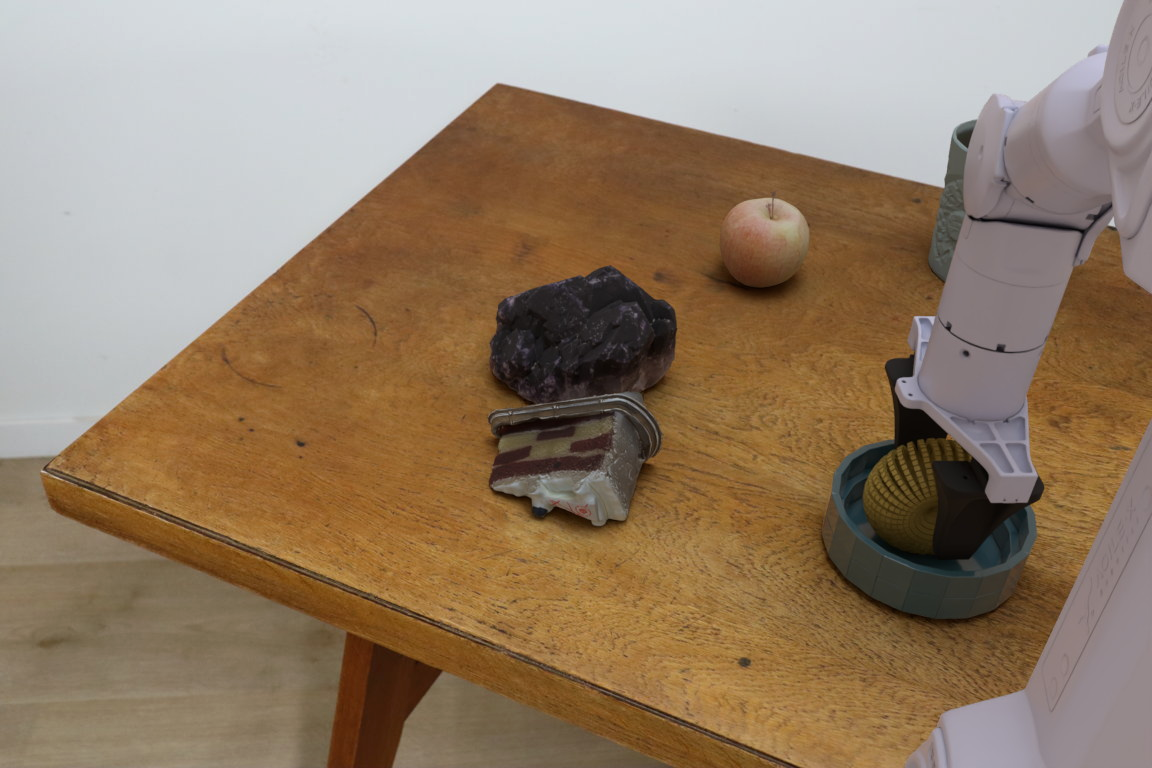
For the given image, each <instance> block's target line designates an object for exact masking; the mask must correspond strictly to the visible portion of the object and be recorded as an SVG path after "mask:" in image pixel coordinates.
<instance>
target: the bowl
mask: <svg viewBox="0 0 1152 768" xmlns="http://www.w3.org/2000/svg"><path fill="white" fill-rule="evenodd" d="M893 450H894V438H893V439H891V438H890V439H884V440H881V441H877V442H873V443H869V444H865V445H863V446H861V447H859V448H858V449H856V450H854V451H853V452H851V453H849V454H848V455H846V456H845V457H843V459H842V460H841V462H840V463H839V465H838V467H837V468H836V469H835V471H834V472H833V475H832V478H831V482H830V487H829V491H828V493H827V494H828V495H827V498H826V503H825V507H824V511H823V516H822V524H821V537H822V540H823V543H824V546H825V549H826V552H827V555H828V558H830V560H831V561H832V563H833V564H834V565H835V567H836V568H837V570H839V572H840V573H841V574H842V576H843V577H844V578H846V579H847V581H849V582H850V583H851V584H853V585H854V586H856V587H857V588H858V589H859V590H860V591H862V592H863V593H864V594H866V595H867V596H868V597H870V598H871V599H874V600H876V601H878V602H881V603H883V604H884V605H887V606H889V607H891V608H893V609H896V610H897V611H900V612H903V613H908V614H912V615H916V616H921V617H925V618H930V619H936V620H947V619H951V620H953V619H955V620H956V619H969V618H973V617H976V616H980V615H982V614H985V613H989V612H992V611H994V610H995V609H997V608H998V607H999V606H1001V605H1002V604H1003V603H1004V602H1006V601H1007V600H1008V599H1010V597H1012V596H1013V595H1014V593H1015V590H1016V588H1017V585H1018V583H1019V581H1020V578H1021V576H1022V574H1023V571H1024V569H1025V567H1026V564H1027V562H1028V560H1029V557H1030V555H1031V552H1032V549H1033V548H1034V545H1035V542H1036V540H1037V537H1038V529H1037V527H1038V526H1037V518H1036V512H1035V511H1034V509H1033V507H1032V506H1031V505H1032V504H1031V505H1029V506H1027V507H1025V508H1023V509H1021V510H1020V511H1018V512H1017V513H1015V514H1014V515H1012V516H1011V517H1009V518H1008V519H1007V520H1005V521H1004V522H1003V523H1002V524H1000V525H999V526H998V527H997V528H996V529H995V530H994V531H993V532H992V533H991V534H990V536H989V537H988V538H987V539H986V540H985V541H984V543H983V544H982V545H981V546H980V547H979V549H978V550H977V551H976V552H975V553H974V555H973V556H972V557H971V558H970V559H969V560H938V559H936V556H935V555H929V554H926V555H922V554H918V553H916V554H915V553H909V552H908V551H902V550H901V549H898V548H895V547H894V546H892V545H890V544H888V543H887V542H886V541H884V540H883V539H882V538H881V537H879V535H878V534H877V533H875V531H874V530H873V528H872V527H871V525H870V523H869V522H868V519H867V517H866V515H865V514H866V513H865V511H864V508H863V493H864V487H865V484H866V483H865V482H866V481H867V479H868V476H869V474H870V472H871V471H872V469H873V467H875V465H876V464H877V463H878V462H879V461H880V459H882V458H883V457H884V456H885V455H888V454H889V452H890V451H893Z"/></svg>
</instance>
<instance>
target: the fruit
mask: <svg viewBox="0 0 1152 768" xmlns="http://www.w3.org/2000/svg"><path fill="white" fill-rule="evenodd" d="M770 193H771V197H763V198H753V199H747V200H744V201H742V202H739V203H738V204H736V205H735V206H734V207H733V208H732V209H730V210H729V212H728V213H727V215H726V216H725V218H724V220H723V222H722V223H721V227H720V232H719V251H720V256H721V259H722V260H723V261H722V262H723V264H724V266H725V267H726V269H727V271H728V272H729V274H730V275H731V277H733V278H734V279H735V280H736V282H739V283H740V284H742V285H744V286H747V287H751V288H769V287H773V286H777V285H780V284H783V283H784V282H786V281H788V280H789V279H790V278H791V277H793V276H794V275H795V274H796V272H798V270H799V269H800V268H801V266H802V264H803V263H804V261H805V259H806V257H807V254H808V251H809V246H810V239H811V237H810V235H811V234H810V228H809V225H808V222H807V220H806V218H805V216H804V215H803V213H802V212H801V211H800V210H799V209H798V208H797V207H796V206H794V205H792V204H791V203H789V202H787V201H785V200H783V199H780V198H775V197H776V193H777V191H776V190H772V191H770Z"/></svg>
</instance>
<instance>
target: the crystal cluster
mask: <svg viewBox="0 0 1152 768" xmlns="http://www.w3.org/2000/svg"><path fill="white" fill-rule="evenodd" d="M676 314H677V313H676V310H675V308H674V307H673V306H672V305H671V304H670V303H669V302H668V301H667V300H665V299H656V298H654V297H653V296H651V294H649V293H648V292H647V291H646V290H645V289H643V288H642V287H641V286H639V285H638V284H637V283H635V282H634V281H633V280H632V279H630V278H629V277H628V276H626V275H625V274H624V273H622V271H620V270H619V269H617V268H616V267H614V266H612V265H611V264H609V265H605V266H603V267H599V268H596V269H595V270H592V271H591V272H590V273H589V274H587V275H586V276H583V275H581V274H579V275H576V276H572V277H569V278H565V279H562V280H559V281H555V282H551V283H547V284H543V285H540V286H537V287H534V288H531V289H527V290H525V291H521V292H520V293H517V294H515V295H510V296H507V297H505V298H504V299H502V301H500V302H499V303H498V304H497V311H496V316H495V322H496V329H495V333H494V334H493V336H492V337H491V339H490V342H489V348H490V356H489V369H490V370H491V371H492V373H493V375H494V376H495V377H496V379H498V380H500V381H501V382H502V383H503V384H505V385H507V387H508V388H510V389H511V390H513V391H515V392H517V394H518V395H519V396H520V397H521V398H523V399H525V400H527V401H529V402H531V403H534V404H540V403H541V404H544V403H553V402H557V401H564V400H569V399H575V398H581V397H588V396H594V395H596V396H599V395H600V396H602V395H605V394H607V395H610V394H616V393H621V392H625V391H629V392H630V393H631V392H640V393H641V392H643V391H644V390H646V389H649V388H652V387H653V386H655V385H656V384H658V383H659V381H661V380H662V378H664V376H665V375H666V374H667V372H668V371H669V370H670V368H671V366H672V364H673V362H674V361H675V356H676V346H677V345H676V343H677V339H676V338H677V332H678V322H677V315H676Z"/></svg>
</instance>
